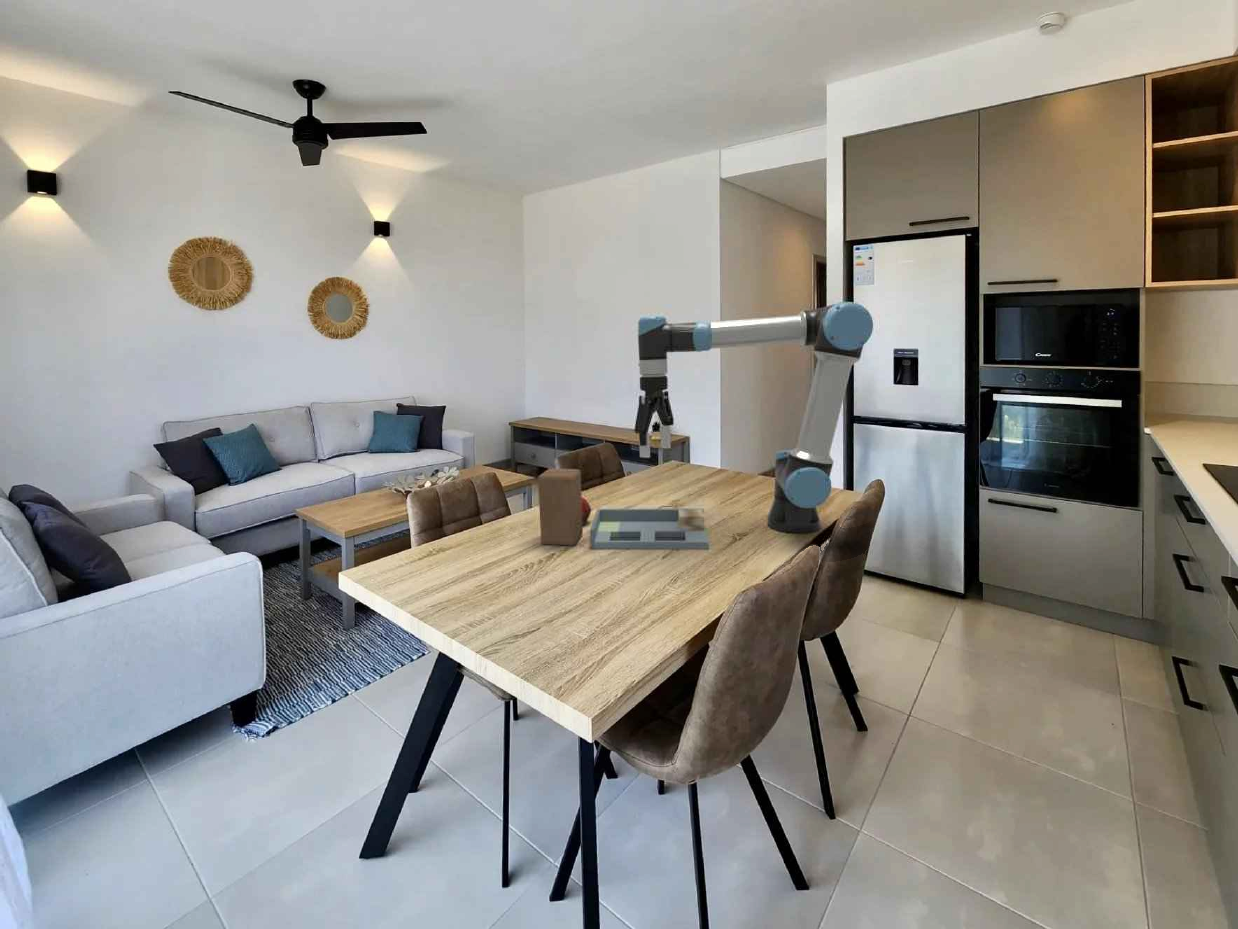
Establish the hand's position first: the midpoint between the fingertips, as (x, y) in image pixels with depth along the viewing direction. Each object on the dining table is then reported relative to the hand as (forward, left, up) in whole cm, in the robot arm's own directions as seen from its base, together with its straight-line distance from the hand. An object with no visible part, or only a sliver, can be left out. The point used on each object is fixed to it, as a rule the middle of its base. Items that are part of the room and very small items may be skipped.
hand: (655, 452), depth 167 cm
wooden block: (+27, +1, -25) cm, 37 cm away
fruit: (+25, -15, -25) cm, 38 cm away
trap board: (+2, -1, -25) cm, 25 cm away
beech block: (-10, -5, -23) cm, 25 cm away
